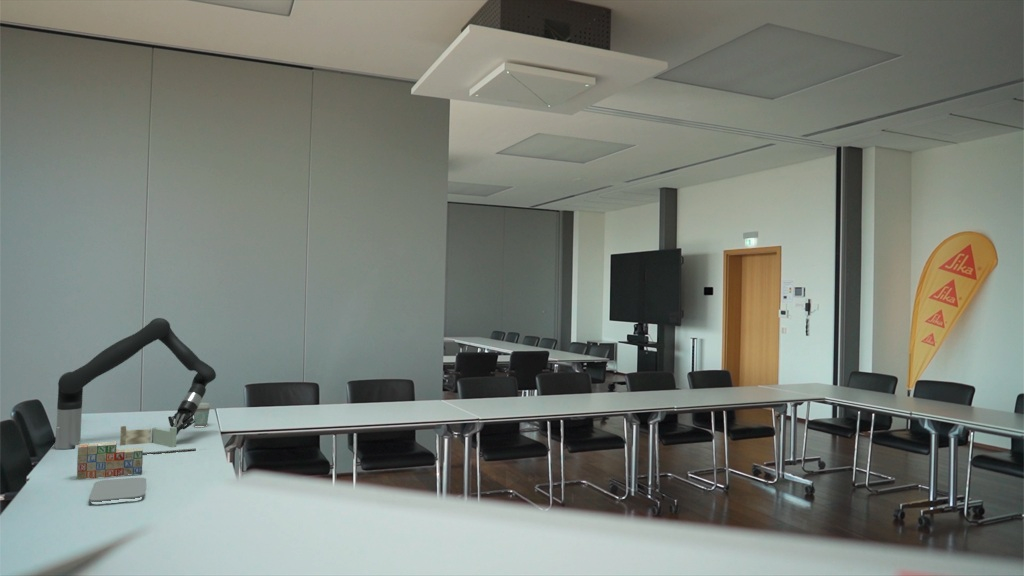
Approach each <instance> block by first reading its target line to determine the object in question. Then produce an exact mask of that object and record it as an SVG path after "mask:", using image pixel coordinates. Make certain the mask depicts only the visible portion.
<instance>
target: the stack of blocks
mask: <svg viewBox="0 0 1024 576" xmlns="http://www.w3.org/2000/svg"><path fill="white" fill-rule="evenodd" d="M117 443H118V442H117V441H103V442H91V443H89V442H87V443H80V444H79V445H77V461H76V462H77V463H76V464H77V465H76V466H77V467H76V480H77V479H78V480H87V479H86V478H92V479H99V478H98V477H104V478H109V477H108V476H116V477H119V476H118V475H128V474H140V475H142V474H143V458H144V457H143V456H144V455H143V453H144V447H129V448H117ZM141 473H142V474H141ZM128 476H129V475H128Z"/></svg>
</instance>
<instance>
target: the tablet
mask: <svg viewBox="0 0 1024 576" xmlns="http://www.w3.org/2000/svg"><path fill="white" fill-rule="evenodd" d="M146 487H147V478H146V477H129V478H127V477H126V478H116V479H114V478H113V479H104V480H98V481H95V482H93V486H92V489H91V492H90V494H89V497H88V501H89V502H102V501H111V500H119V499H135V498H140V497H145V496H146Z"/></svg>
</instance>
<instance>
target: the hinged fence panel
mask: <svg viewBox="0 0 1024 576" xmlns="http://www.w3.org/2000/svg"><path fill="white" fill-rule="evenodd" d="M177 436H178V435H177V427H171V426H170V427H169V430H166V429H161V428H156V427H152V428H151V443H150V444H157V445H161V446H165V447H169V448H175V447H177Z"/></svg>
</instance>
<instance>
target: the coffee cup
mask: <svg viewBox="0 0 1024 576" xmlns="http://www.w3.org/2000/svg"><path fill="white" fill-rule="evenodd" d="M210 409H211V404H210V402H200V405H199V406H198V408H197V410H196V412H195V414H194V415H193V419H194V420H195V423H193V424H194V427H195V426H206V425H207V426H208V421H209V414H210ZM207 426H206V427H207Z"/></svg>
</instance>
